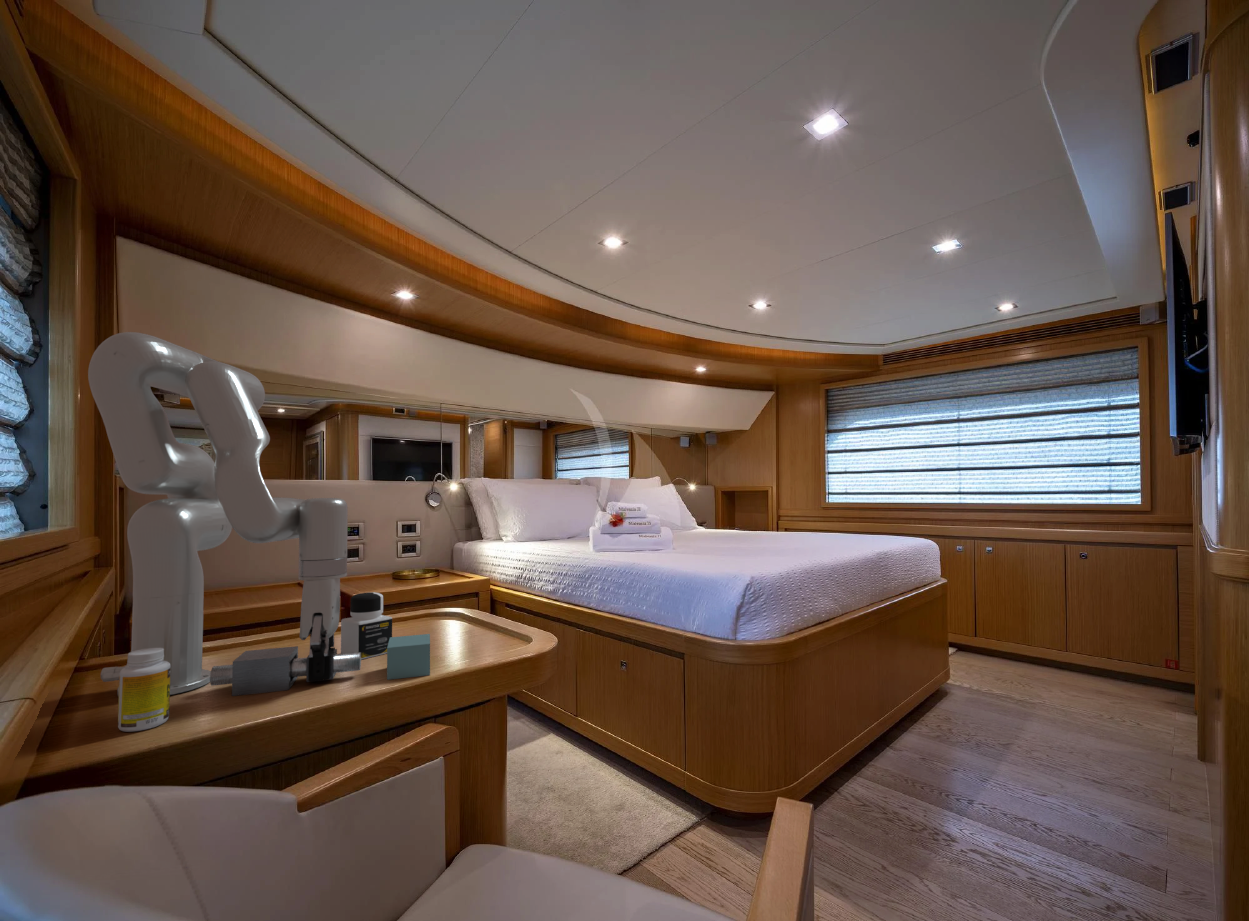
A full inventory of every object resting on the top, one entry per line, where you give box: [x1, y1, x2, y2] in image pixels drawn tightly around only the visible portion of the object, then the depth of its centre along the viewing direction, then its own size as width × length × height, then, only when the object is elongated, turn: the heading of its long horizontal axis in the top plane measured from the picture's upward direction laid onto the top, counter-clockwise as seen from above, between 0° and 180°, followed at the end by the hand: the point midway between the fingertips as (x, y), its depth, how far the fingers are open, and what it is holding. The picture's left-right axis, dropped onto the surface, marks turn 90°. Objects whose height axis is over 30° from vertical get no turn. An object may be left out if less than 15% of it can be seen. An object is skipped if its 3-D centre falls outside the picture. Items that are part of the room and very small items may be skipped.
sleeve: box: [231, 646, 299, 697], centre depth 98 cm, size 8×7×5 cm
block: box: [386, 633, 431, 681], centre depth 105 cm, size 7×8×5 cm
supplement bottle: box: [117, 648, 171, 733], centre depth 82 cm, size 6×6×10 cm
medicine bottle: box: [340, 591, 393, 661], centre depth 118 cm, size 7×7×12 cm
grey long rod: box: [209, 648, 362, 687], centre depth 99 cm, size 22×4×4 cm, turn 109°
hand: (321, 674), depth 100 cm, fingers closed on grey long rod, 4 cm apart
